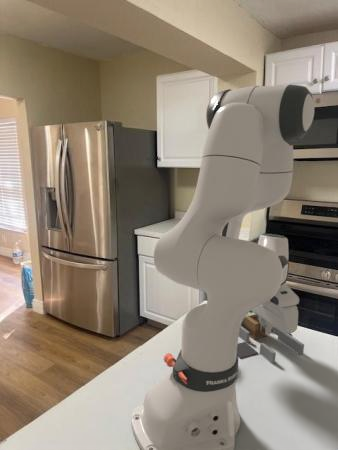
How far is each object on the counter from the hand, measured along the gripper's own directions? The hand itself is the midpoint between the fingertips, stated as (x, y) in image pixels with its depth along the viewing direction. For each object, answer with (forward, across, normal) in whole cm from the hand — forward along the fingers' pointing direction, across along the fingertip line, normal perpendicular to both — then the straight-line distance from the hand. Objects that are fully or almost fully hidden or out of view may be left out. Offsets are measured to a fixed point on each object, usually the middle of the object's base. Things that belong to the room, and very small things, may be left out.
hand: (265, 332), depth 99 cm
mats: (+3, 0, -1) cm, 3 cm away
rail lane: (+3, +1, 0) cm, 3 cm away
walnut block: (+3, -4, 0) cm, 5 cm away
